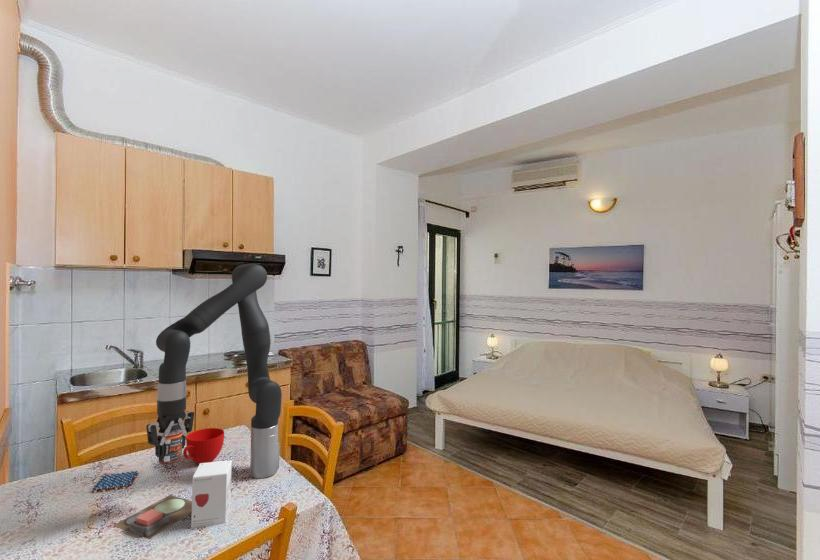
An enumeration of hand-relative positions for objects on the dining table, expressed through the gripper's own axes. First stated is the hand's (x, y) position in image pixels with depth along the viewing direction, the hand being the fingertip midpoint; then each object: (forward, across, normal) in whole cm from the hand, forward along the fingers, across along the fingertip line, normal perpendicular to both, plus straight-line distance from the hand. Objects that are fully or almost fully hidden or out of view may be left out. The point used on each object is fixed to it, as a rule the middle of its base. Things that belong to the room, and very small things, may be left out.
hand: (170, 452), depth 117 cm
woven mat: (+18, +4, +30) cm, 36 cm away
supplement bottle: (+3, 0, 0) cm, 3 cm away
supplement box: (+17, +1, -16) cm, 23 cm away
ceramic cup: (+17, +26, +18) cm, 36 cm away
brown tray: (+17, -4, -2) cm, 18 cm away
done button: (+15, -9, -4) cm, 18 cm away
